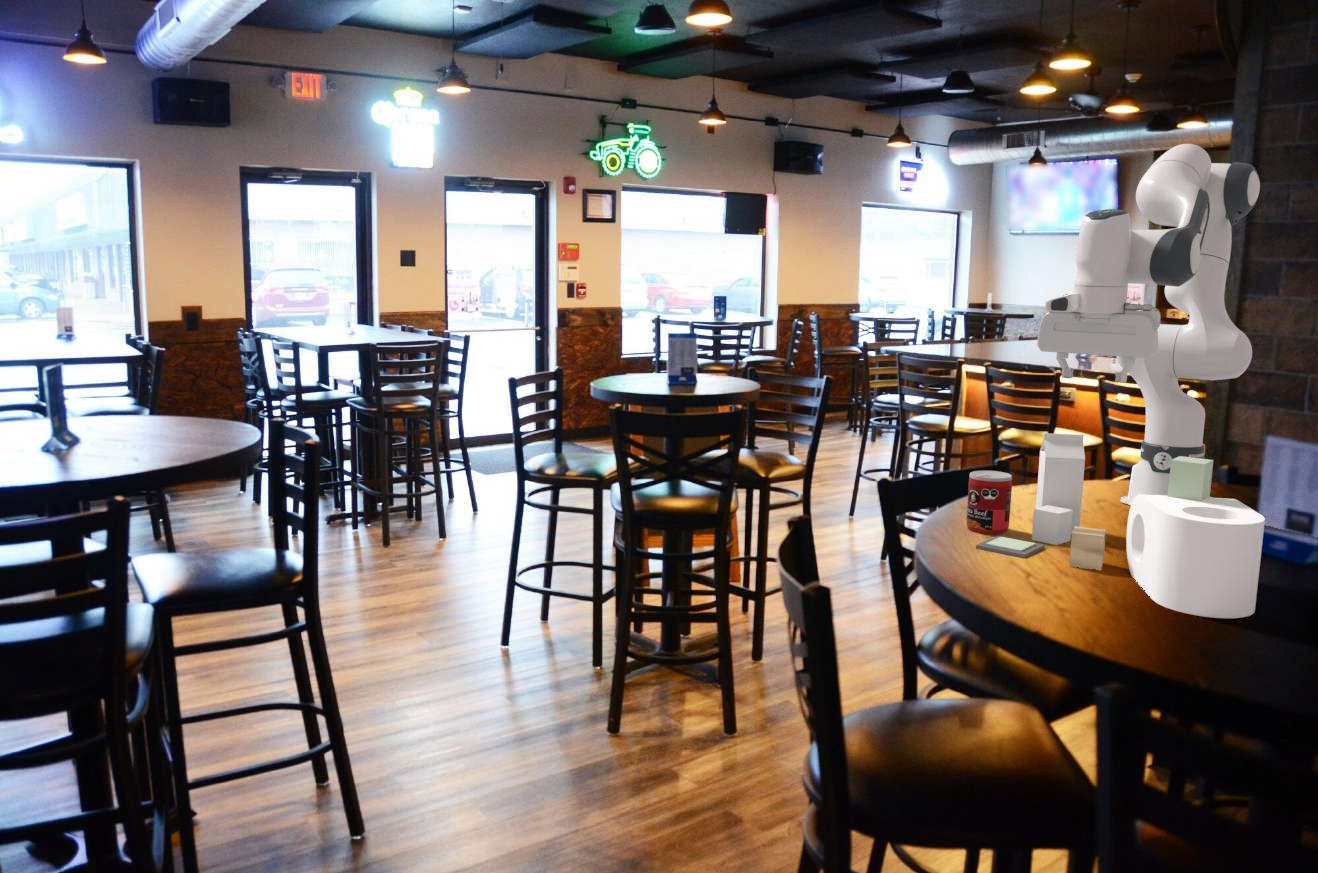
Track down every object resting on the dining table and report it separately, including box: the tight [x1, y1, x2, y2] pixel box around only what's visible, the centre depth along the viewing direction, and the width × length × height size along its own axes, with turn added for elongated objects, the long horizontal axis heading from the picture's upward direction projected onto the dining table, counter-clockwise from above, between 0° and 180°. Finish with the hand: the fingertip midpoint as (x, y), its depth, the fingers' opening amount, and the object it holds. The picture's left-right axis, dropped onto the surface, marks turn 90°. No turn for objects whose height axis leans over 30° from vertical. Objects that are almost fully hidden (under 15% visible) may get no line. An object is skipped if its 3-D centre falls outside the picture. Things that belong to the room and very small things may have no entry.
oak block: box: [1069, 526, 1107, 571], centre depth 179 cm, size 5×5×6 cm
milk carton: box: [1035, 432, 1086, 536], centre depth 202 cm, size 7×7×19 cm
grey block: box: [1031, 505, 1073, 546], centre depth 195 cm, size 5×5×6 cm
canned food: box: [965, 470, 1013, 535], centre depth 202 cm, size 8×8×11 cm
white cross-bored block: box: [1125, 494, 1266, 619], centre depth 164 cm, size 14×14×25 cm
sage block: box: [1168, 456, 1214, 501], centre depth 169 cm, size 5×5×6 cm
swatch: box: [975, 535, 1046, 559], centre depth 190 cm, size 9×9×1 cm
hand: (1093, 380), depth 188 cm, fingers open, 8 cm apart
